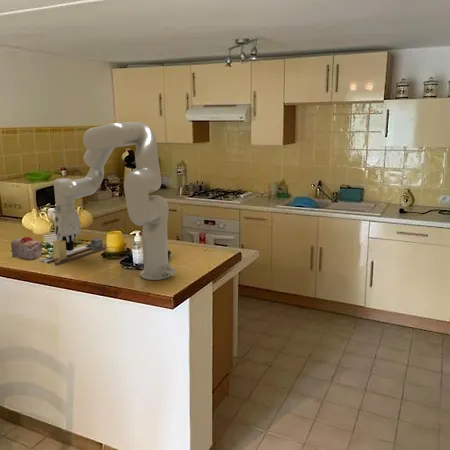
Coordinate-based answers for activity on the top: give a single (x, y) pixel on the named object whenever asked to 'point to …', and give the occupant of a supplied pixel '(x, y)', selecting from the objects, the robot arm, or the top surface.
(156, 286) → the top surface
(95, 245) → the grey slide rail
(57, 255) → the sliding head
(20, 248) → the food item
